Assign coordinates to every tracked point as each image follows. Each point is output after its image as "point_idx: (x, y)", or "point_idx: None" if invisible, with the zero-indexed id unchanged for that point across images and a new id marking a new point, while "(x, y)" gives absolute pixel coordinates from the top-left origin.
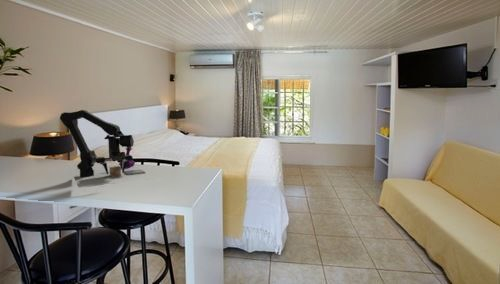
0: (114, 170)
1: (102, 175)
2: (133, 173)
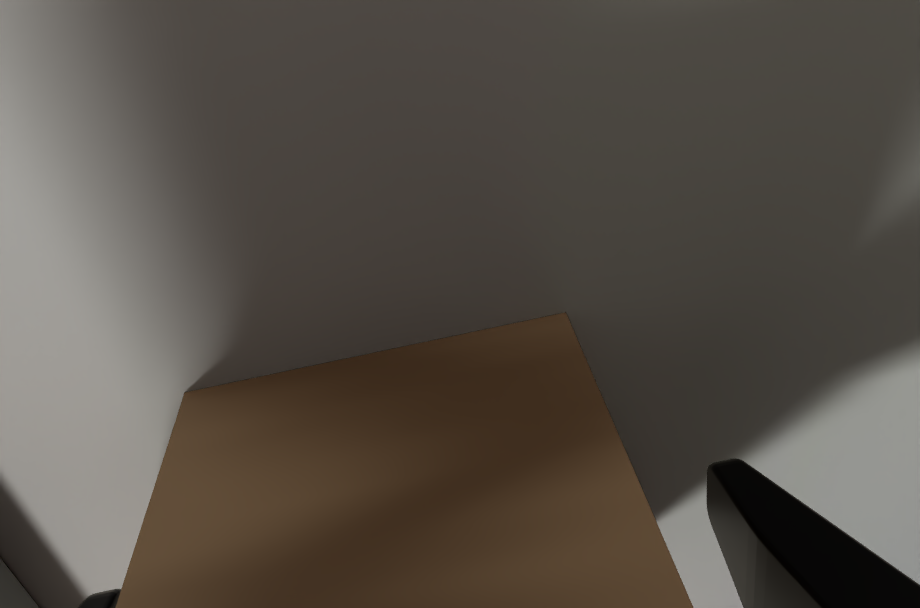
0: (464, 555)
1: None
2: None
